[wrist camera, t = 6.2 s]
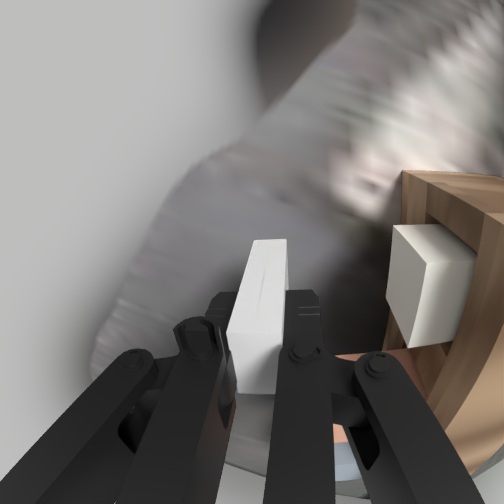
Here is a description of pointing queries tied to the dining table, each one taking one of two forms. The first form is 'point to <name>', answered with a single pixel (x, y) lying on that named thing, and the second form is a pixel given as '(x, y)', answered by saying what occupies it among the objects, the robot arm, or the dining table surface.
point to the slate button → (345, 463)
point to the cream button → (428, 282)
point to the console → (464, 312)
